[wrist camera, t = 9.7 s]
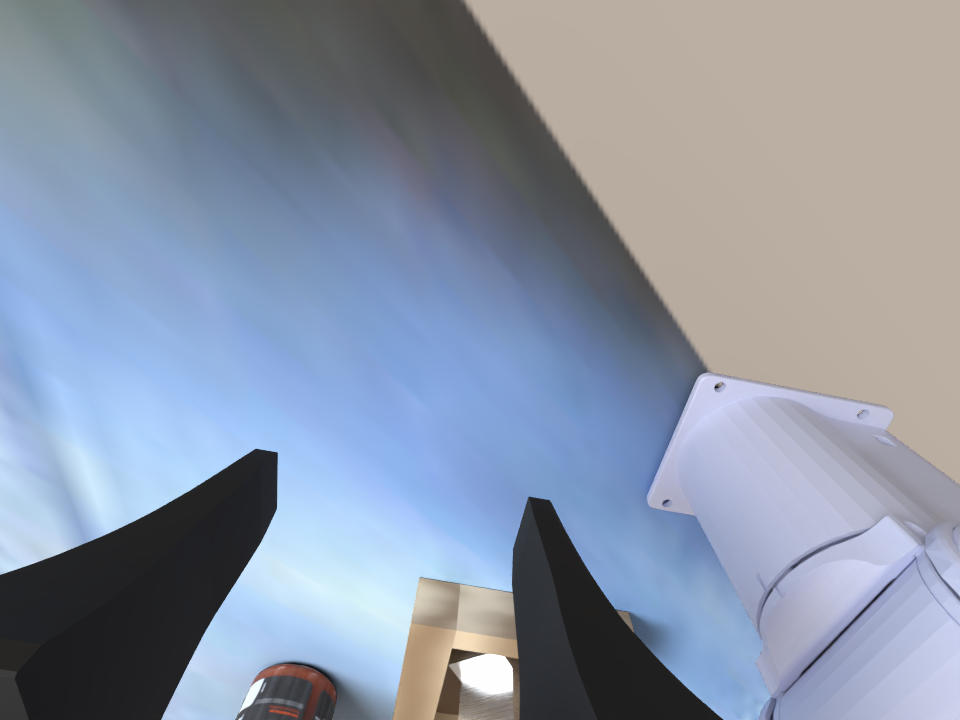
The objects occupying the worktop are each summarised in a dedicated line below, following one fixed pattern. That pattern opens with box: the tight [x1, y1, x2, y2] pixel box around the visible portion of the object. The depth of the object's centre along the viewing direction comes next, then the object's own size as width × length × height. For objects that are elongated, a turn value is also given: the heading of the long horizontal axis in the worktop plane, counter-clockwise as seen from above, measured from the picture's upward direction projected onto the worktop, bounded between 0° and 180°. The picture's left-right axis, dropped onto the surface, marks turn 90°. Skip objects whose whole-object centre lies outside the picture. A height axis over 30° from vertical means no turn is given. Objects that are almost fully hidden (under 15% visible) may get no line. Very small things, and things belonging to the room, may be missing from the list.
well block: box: [392, 578, 634, 720], centre depth 30 cm, size 13×14×3 cm
